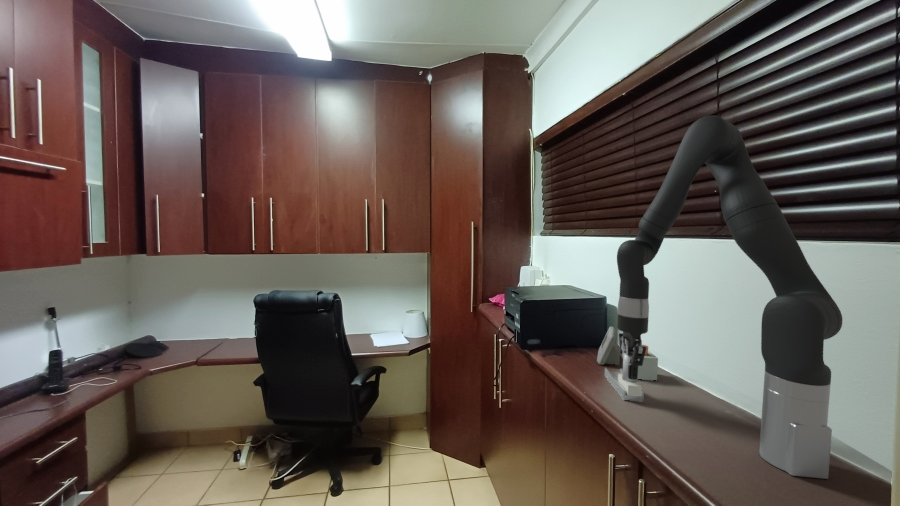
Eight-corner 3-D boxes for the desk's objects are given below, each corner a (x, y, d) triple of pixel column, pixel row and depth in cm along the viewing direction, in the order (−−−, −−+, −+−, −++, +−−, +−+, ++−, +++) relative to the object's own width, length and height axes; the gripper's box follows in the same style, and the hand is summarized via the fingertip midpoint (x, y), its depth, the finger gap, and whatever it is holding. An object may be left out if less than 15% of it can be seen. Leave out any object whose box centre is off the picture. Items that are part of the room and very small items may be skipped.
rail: (643, 401, 96) (643, 391, 96) (623, 400, 97) (623, 390, 97) (621, 377, 113) (621, 368, 113) (604, 376, 114) (604, 367, 114)
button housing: (656, 380, 111) (658, 358, 111) (632, 379, 112) (633, 356, 112) (647, 372, 118) (648, 350, 118) (624, 370, 119) (625, 349, 118)
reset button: (649, 357, 113) (650, 348, 112) (637, 356, 113) (637, 347, 113) (645, 353, 116) (645, 344, 116) (633, 353, 117) (633, 343, 116)
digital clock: (600, 351, 138) (601, 324, 138) (625, 356, 133) (627, 328, 133) (587, 363, 125) (589, 332, 125) (616, 369, 120) (617, 337, 119)
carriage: (641, 396, 96) (643, 360, 95) (627, 395, 96) (629, 359, 96) (630, 384, 104) (632, 350, 103) (617, 383, 104) (618, 349, 104)
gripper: (659, 320, 91) (655, 387, 92) (637, 309, 105) (634, 367, 106) (627, 318, 92) (624, 385, 93) (610, 307, 106) (607, 365, 107)
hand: (629, 375), depth 100 cm, fingers closed on carriage, 3 cm apart
